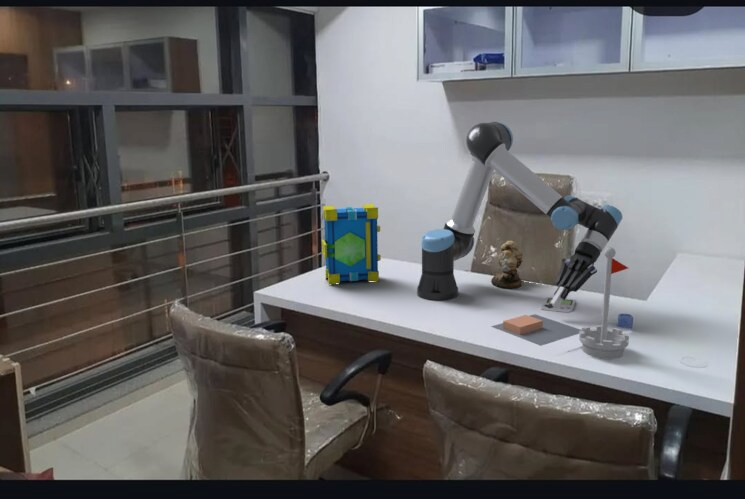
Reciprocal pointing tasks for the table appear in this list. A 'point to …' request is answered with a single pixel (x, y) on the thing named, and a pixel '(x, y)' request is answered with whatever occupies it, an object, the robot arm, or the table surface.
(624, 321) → the decorative dice
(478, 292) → the table surface
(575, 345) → the table surface
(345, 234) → the decorative book
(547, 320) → the mat
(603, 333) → the flag stand
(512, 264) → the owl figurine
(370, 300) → the table surface
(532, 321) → the card deck
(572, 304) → the handheld gaming console
